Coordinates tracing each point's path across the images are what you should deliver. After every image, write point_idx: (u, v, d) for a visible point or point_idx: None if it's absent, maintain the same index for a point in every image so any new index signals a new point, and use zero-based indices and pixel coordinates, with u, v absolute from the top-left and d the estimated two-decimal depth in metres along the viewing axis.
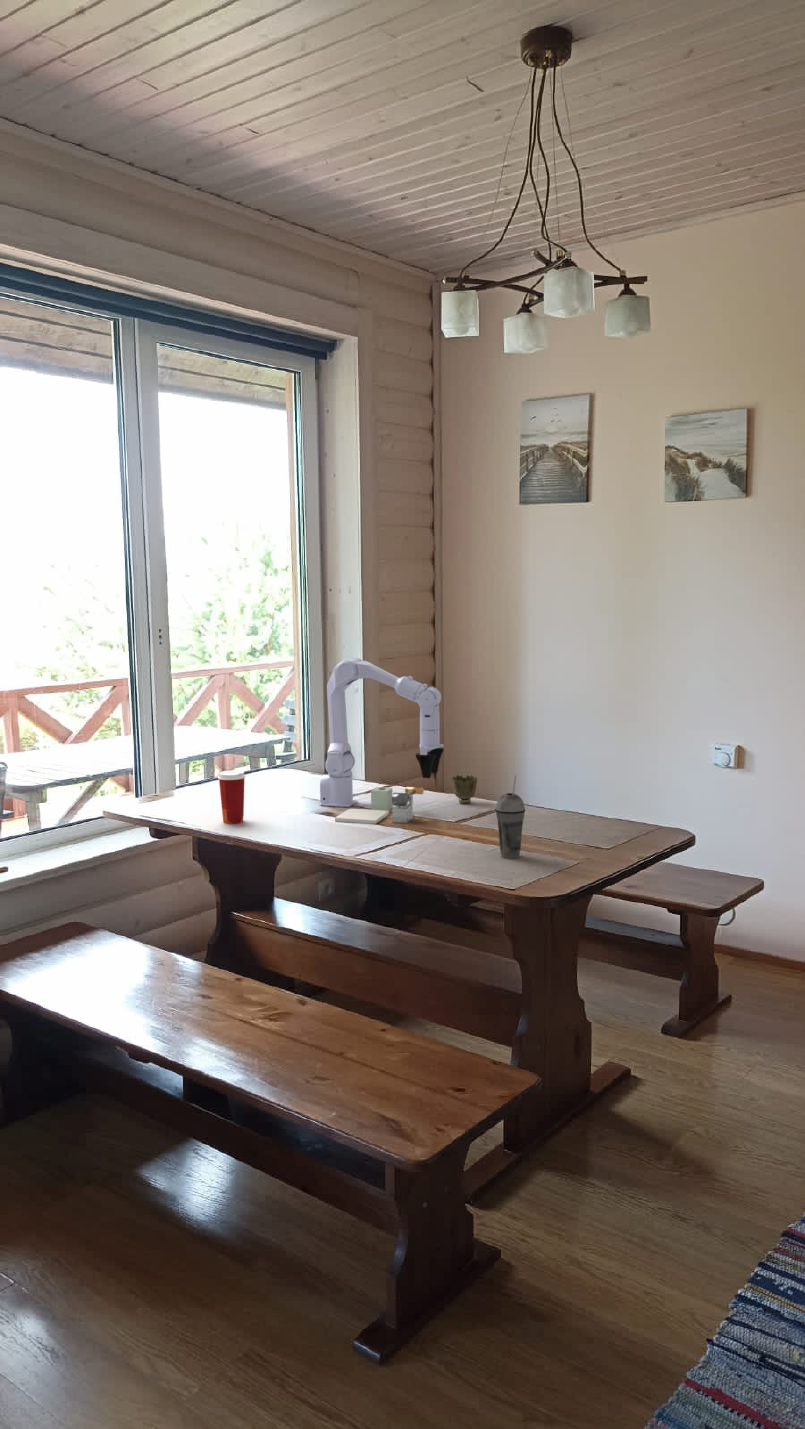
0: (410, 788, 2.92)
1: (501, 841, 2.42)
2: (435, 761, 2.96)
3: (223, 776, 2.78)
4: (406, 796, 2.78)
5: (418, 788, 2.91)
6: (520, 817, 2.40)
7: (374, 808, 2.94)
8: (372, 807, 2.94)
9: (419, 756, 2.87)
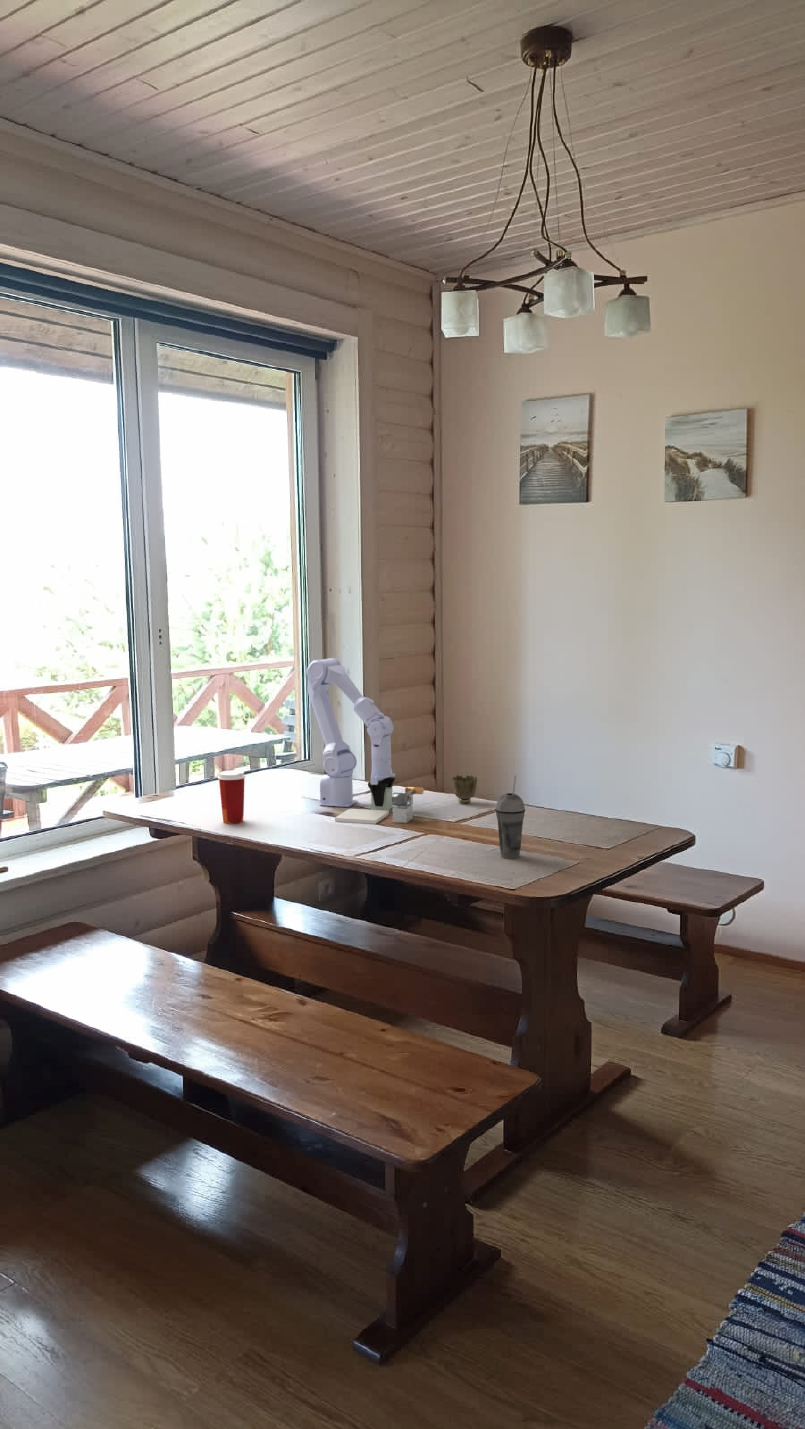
0: (410, 788, 2.92)
1: (501, 841, 2.42)
2: None
3: (223, 776, 2.78)
4: (406, 796, 2.78)
5: (418, 788, 2.91)
6: (520, 817, 2.40)
7: (374, 808, 2.94)
8: (372, 807, 2.94)
9: (371, 785, 2.91)
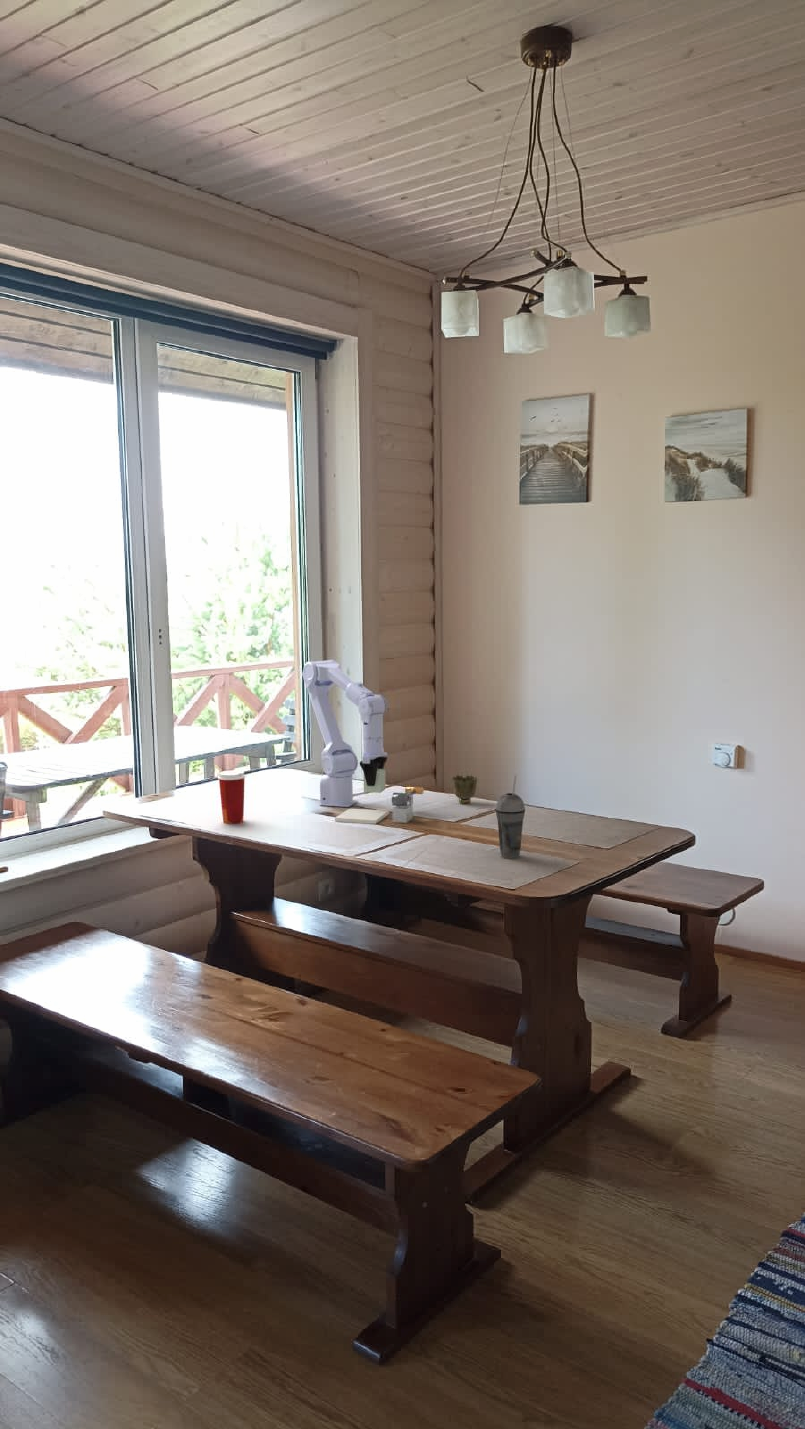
0: (410, 788, 2.92)
1: (501, 841, 2.42)
2: None
3: (223, 776, 2.78)
4: (406, 796, 2.78)
5: (418, 788, 2.91)
6: (520, 817, 2.40)
7: (367, 789, 2.89)
8: (364, 788, 2.89)
9: (363, 764, 2.85)
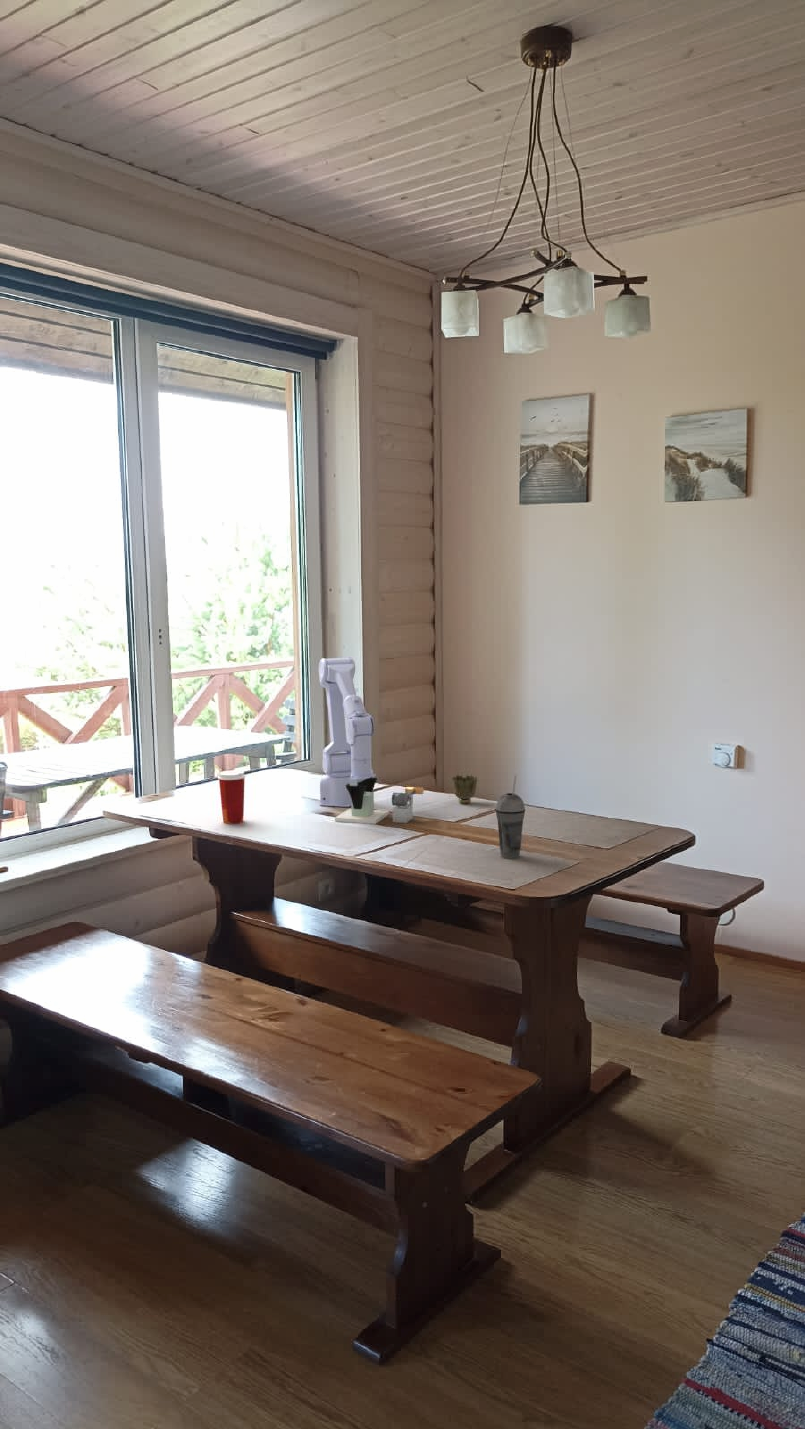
0: (410, 788, 2.92)
1: (501, 841, 2.42)
2: (368, 791, 2.88)
3: (223, 776, 2.78)
4: (406, 796, 2.78)
5: (418, 788, 2.91)
6: (520, 817, 2.40)
7: (354, 813, 2.83)
8: (352, 812, 2.83)
9: (349, 787, 2.79)
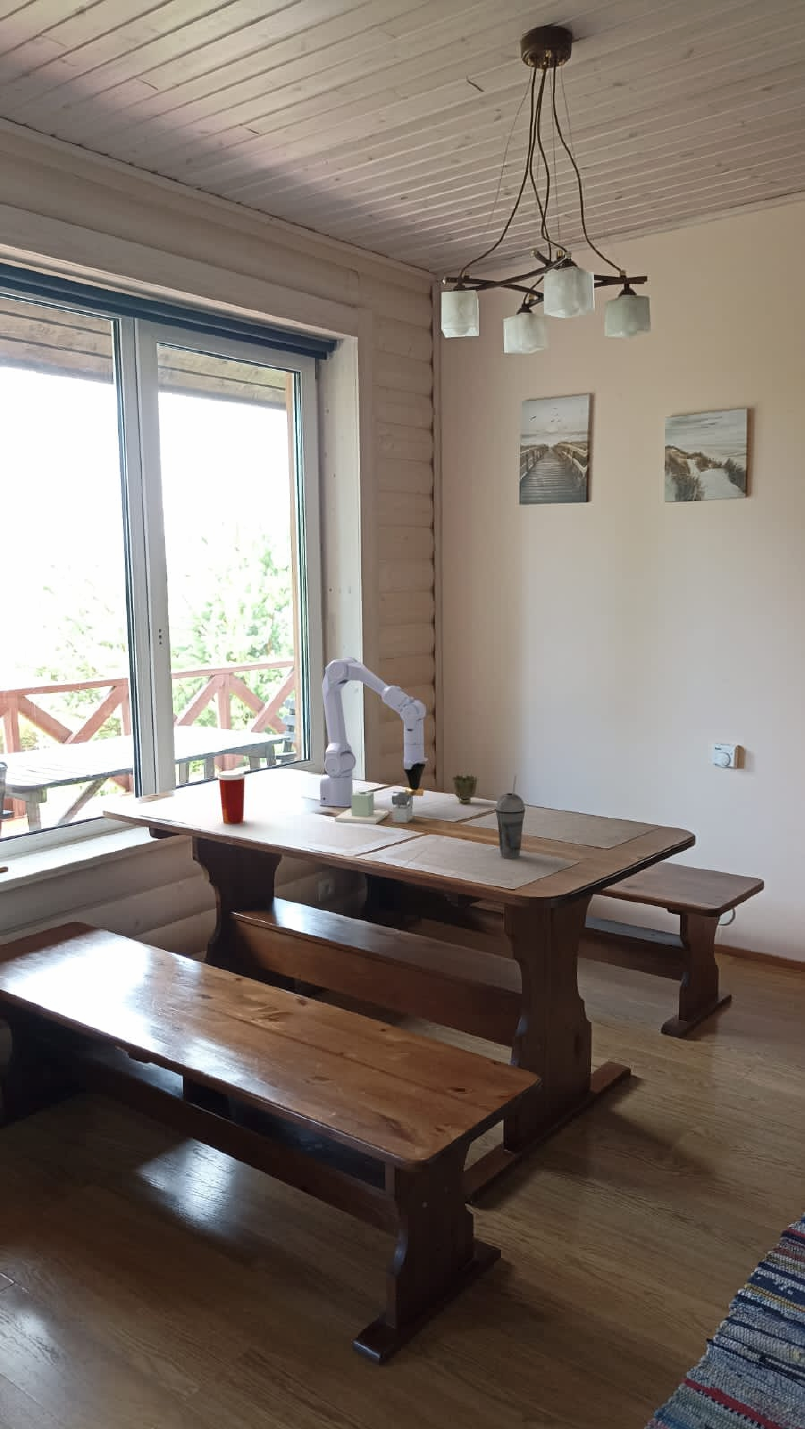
0: (410, 790, 2.92)
1: (501, 841, 2.42)
2: None
3: (223, 776, 2.78)
4: (406, 795, 2.78)
5: (418, 790, 2.91)
6: (520, 817, 2.40)
7: (354, 813, 2.83)
8: (352, 812, 2.83)
9: None
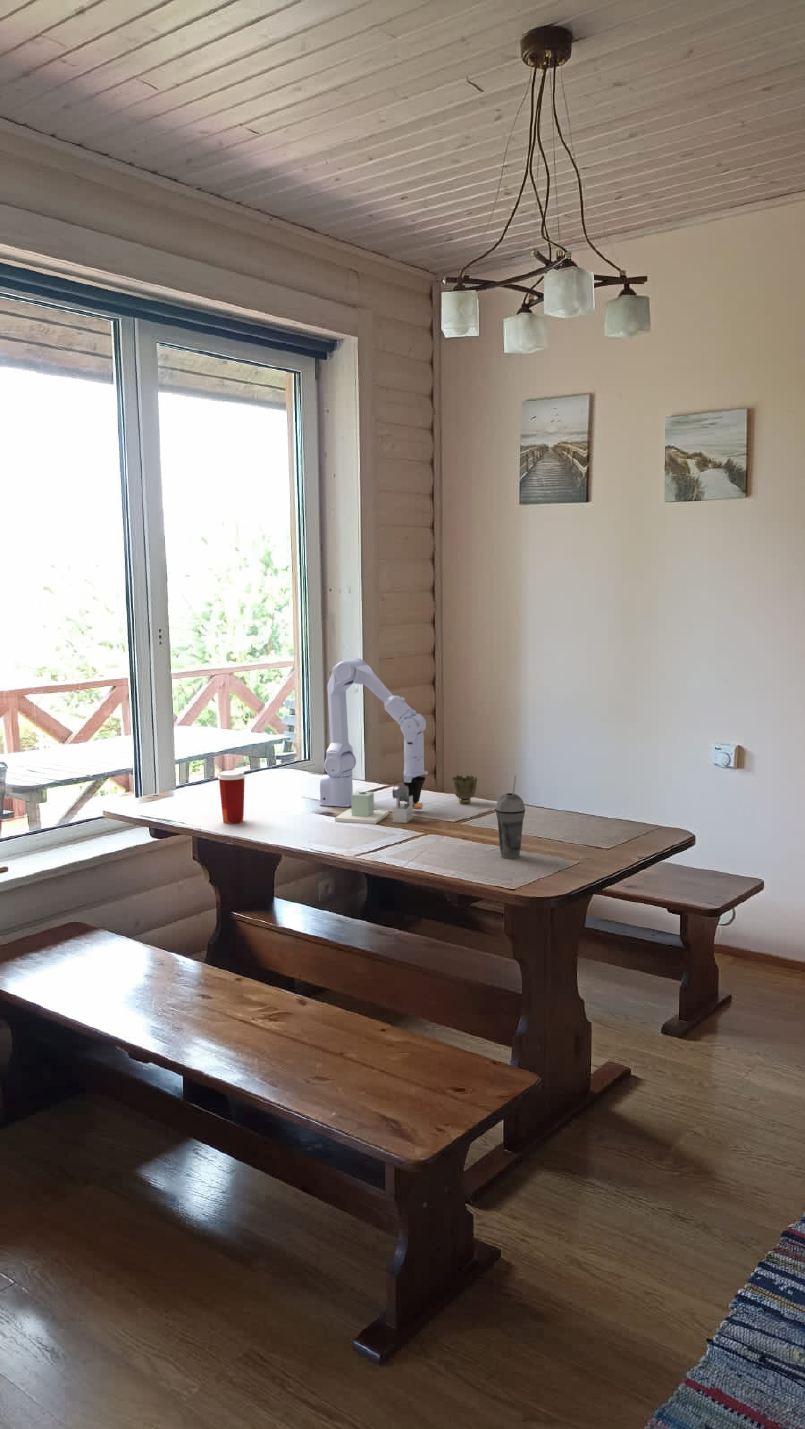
0: None
1: (501, 841, 2.42)
2: None
3: (223, 776, 2.78)
4: (407, 789, 2.79)
5: (418, 803, 2.91)
6: (520, 817, 2.40)
7: (354, 813, 2.83)
8: (352, 812, 2.83)
9: (406, 781, 2.90)
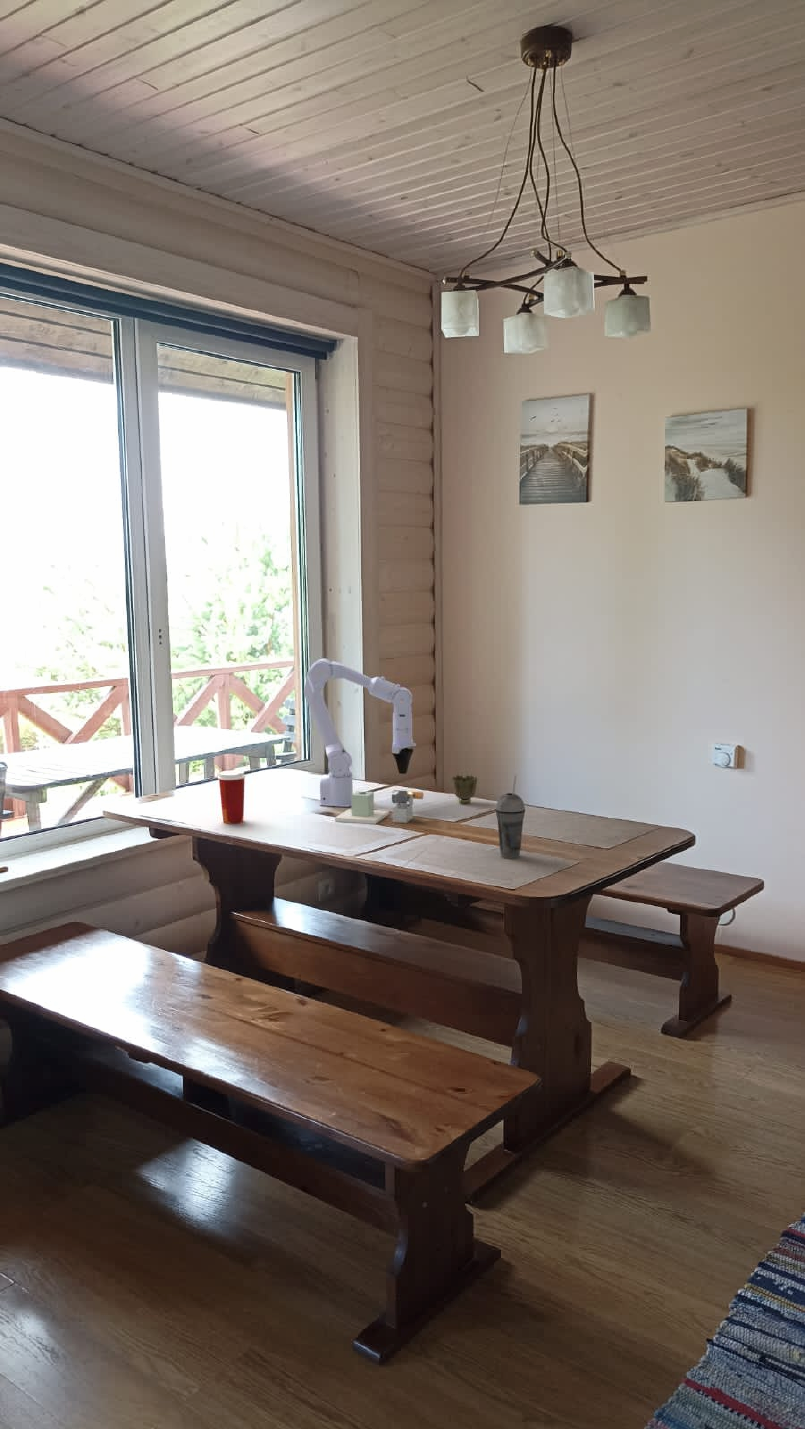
0: (410, 793, 2.92)
1: (501, 841, 2.42)
2: None
3: (223, 776, 2.78)
4: (406, 794, 2.78)
5: (418, 793, 2.92)
6: (520, 817, 2.40)
7: (354, 813, 2.83)
8: (352, 812, 2.83)
9: (395, 752, 2.98)
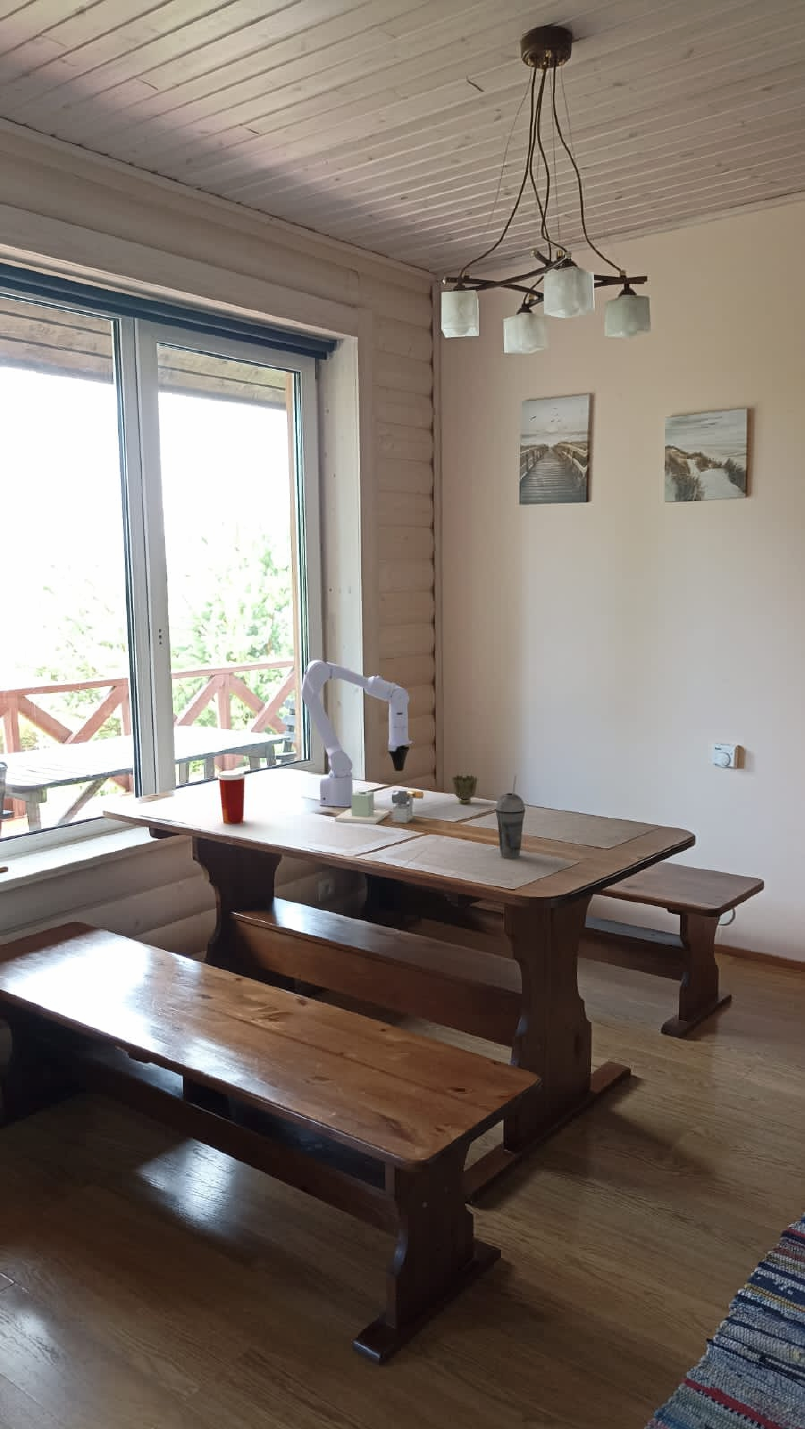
0: (410, 792, 2.92)
1: (501, 841, 2.42)
2: None
3: (223, 776, 2.78)
4: (406, 794, 2.78)
5: (418, 792, 2.92)
6: (520, 817, 2.40)
7: (354, 813, 2.83)
8: (352, 812, 2.83)
9: (391, 750, 3.02)
